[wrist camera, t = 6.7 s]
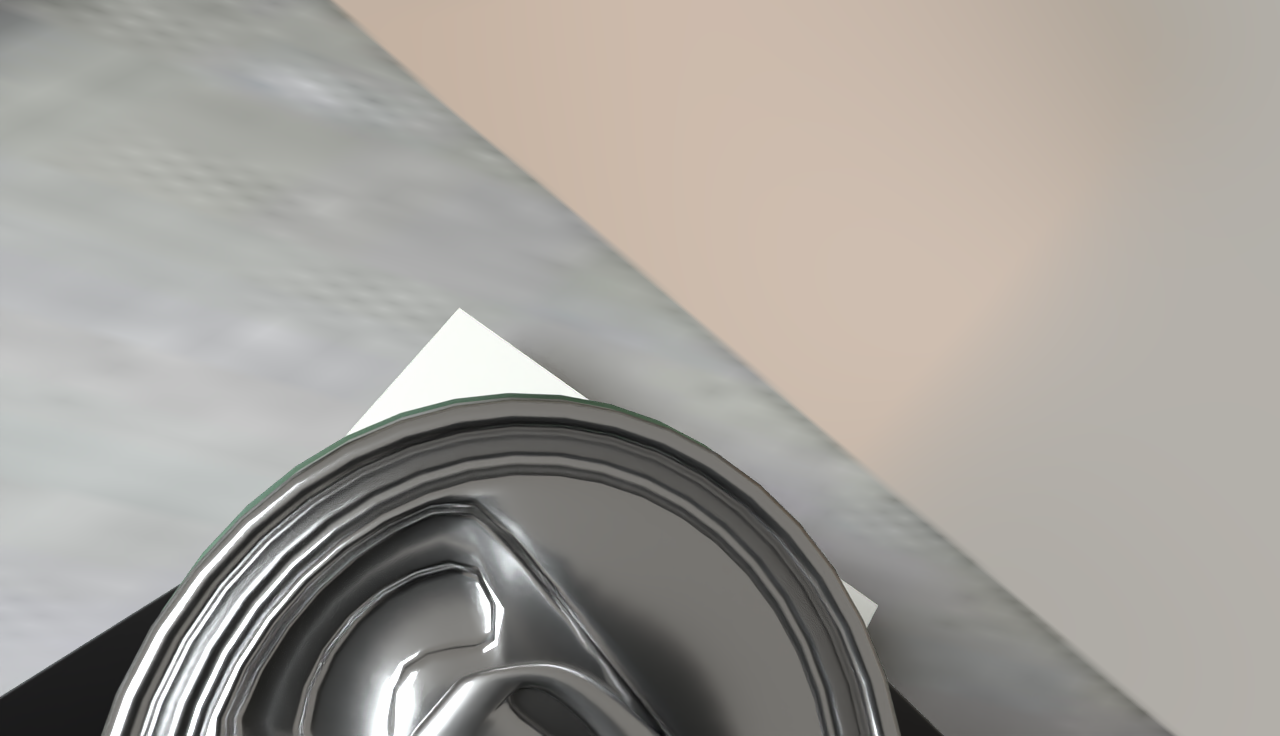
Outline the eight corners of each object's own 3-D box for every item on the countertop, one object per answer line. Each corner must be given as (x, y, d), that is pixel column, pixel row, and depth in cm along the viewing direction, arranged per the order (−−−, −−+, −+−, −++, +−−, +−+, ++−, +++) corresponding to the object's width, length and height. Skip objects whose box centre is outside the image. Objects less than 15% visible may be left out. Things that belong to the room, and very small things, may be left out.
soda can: (500, 505, 16) (502, 192, 5) (685, 670, 16) (1122, 710, 5) (311, 710, 15) (-302, 897, 3) (514, 904, 14) (572, 1860, 3)
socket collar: (827, 611, 21) (878, 605, 18) (560, 1107, 16) (572, 1201, 14) (464, 352, 21) (459, 307, 19) (114, 759, 17) (39, 780, 14)
